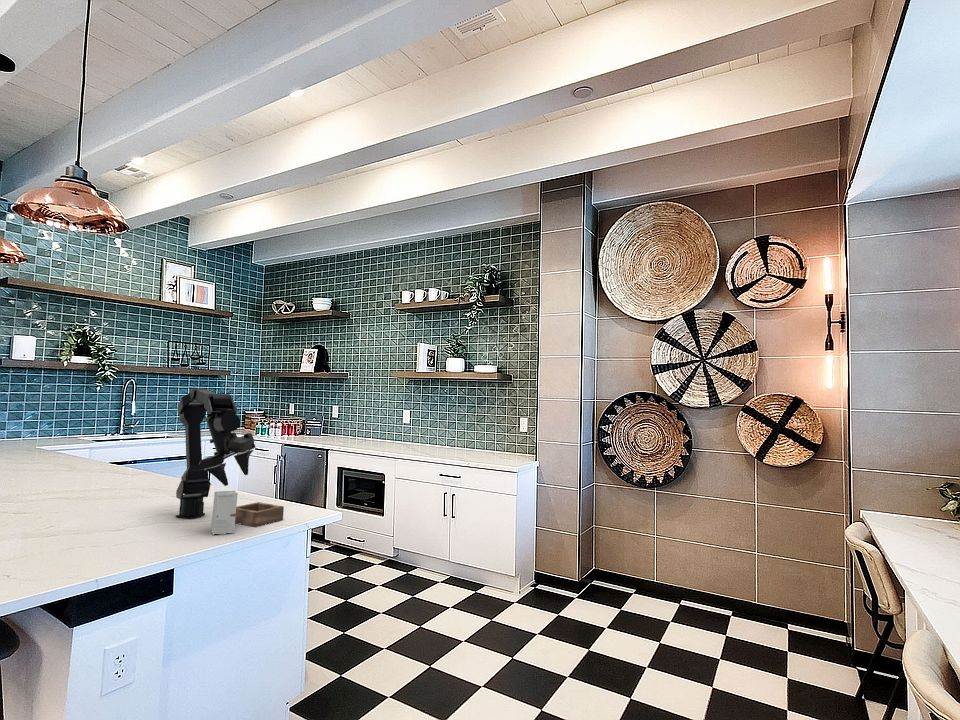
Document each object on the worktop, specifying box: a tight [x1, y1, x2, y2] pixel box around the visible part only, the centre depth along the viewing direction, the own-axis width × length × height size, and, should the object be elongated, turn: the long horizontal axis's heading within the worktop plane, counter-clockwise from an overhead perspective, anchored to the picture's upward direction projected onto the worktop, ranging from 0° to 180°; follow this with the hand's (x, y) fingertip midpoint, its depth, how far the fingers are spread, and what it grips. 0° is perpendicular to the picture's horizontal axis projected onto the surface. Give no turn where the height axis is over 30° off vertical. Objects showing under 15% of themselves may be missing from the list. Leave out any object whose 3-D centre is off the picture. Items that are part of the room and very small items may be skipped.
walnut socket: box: [235, 501, 285, 528], centre depth 179 cm, size 12×12×4 cm
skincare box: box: [210, 490, 238, 536], centre depth 163 cm, size 6×4×12 cm
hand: (236, 480), depth 171 cm, fingers open, 9 cm apart
